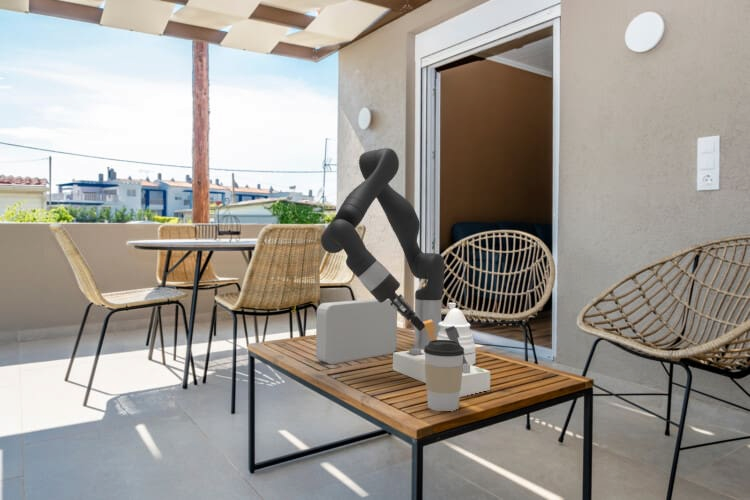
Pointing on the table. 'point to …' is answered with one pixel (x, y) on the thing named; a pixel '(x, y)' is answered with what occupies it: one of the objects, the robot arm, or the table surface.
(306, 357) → the table surface
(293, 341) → the table surface
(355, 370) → the table surface
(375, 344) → the rounded white slab
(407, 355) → the white rectangular tray
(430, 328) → the orange paddle
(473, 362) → the honey pot
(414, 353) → the grey button
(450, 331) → the charcoal paddle
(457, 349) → the coffee cup
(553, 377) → the table surface
